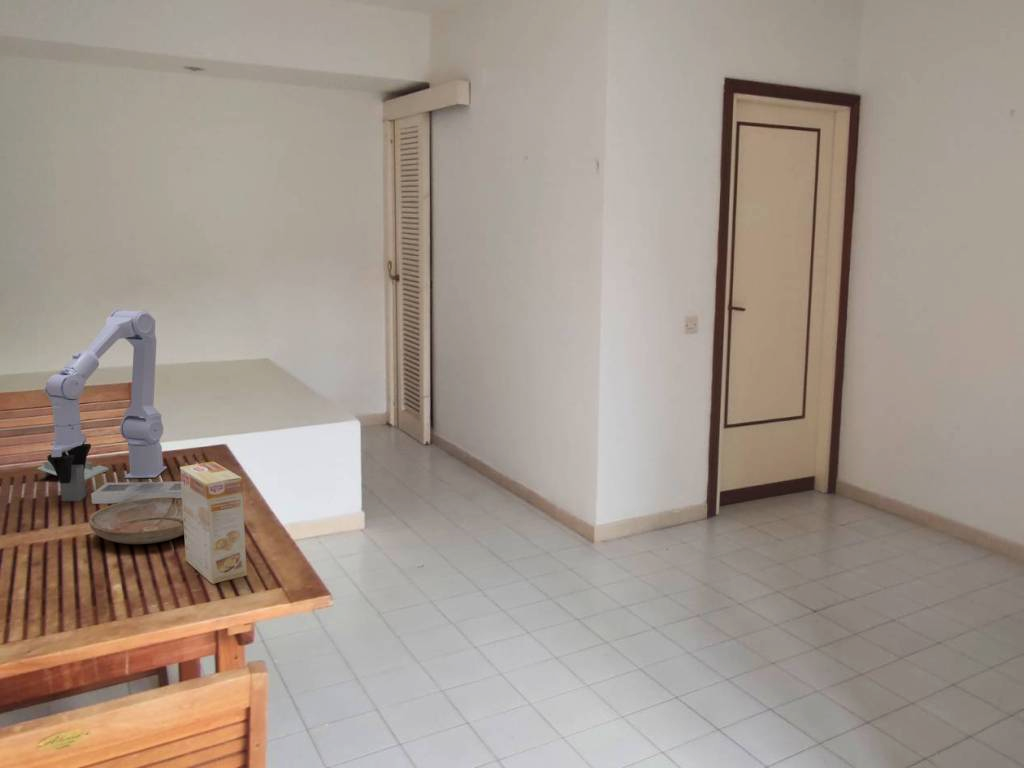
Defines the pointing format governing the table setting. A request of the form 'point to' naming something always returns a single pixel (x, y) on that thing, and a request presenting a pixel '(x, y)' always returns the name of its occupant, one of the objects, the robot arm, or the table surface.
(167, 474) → the table surface
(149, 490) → the hole rail
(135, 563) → the table surface
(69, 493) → the square peg
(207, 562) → the coffeecake box
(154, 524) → the ceramic bowl
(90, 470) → the metal bracket
